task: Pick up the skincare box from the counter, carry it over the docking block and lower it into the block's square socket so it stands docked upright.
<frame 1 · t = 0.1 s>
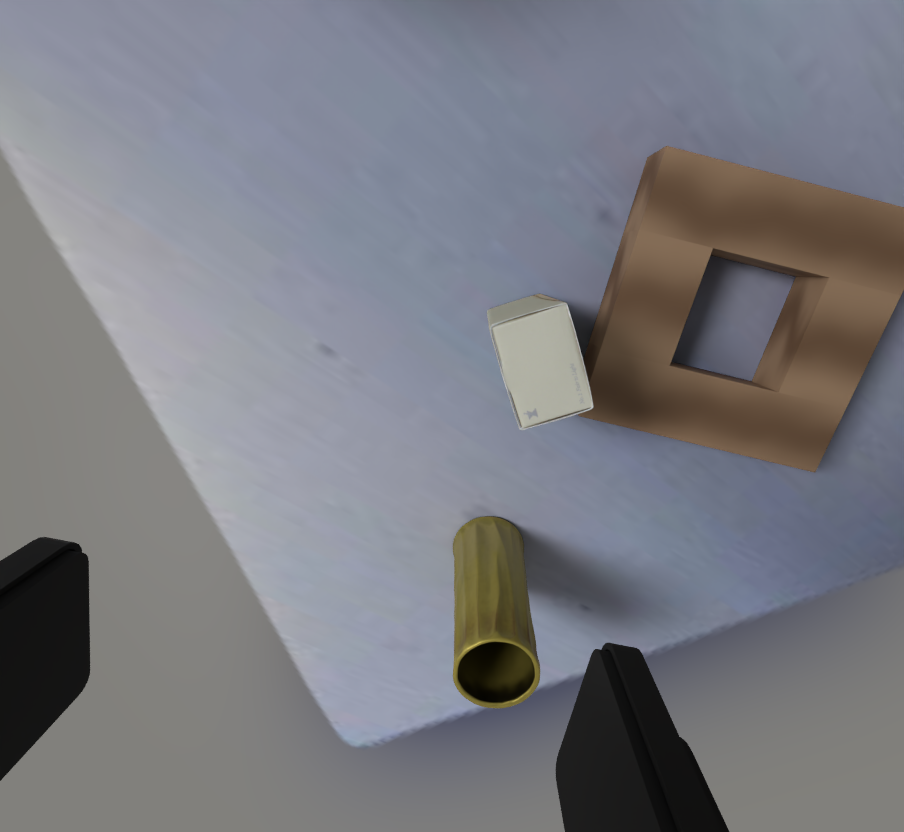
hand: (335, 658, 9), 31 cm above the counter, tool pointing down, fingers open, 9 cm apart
skincare box: (521, 338, 38), on the counter
vase: (488, 545, 44), on the counter
docking block: (722, 317, 37), on the counter
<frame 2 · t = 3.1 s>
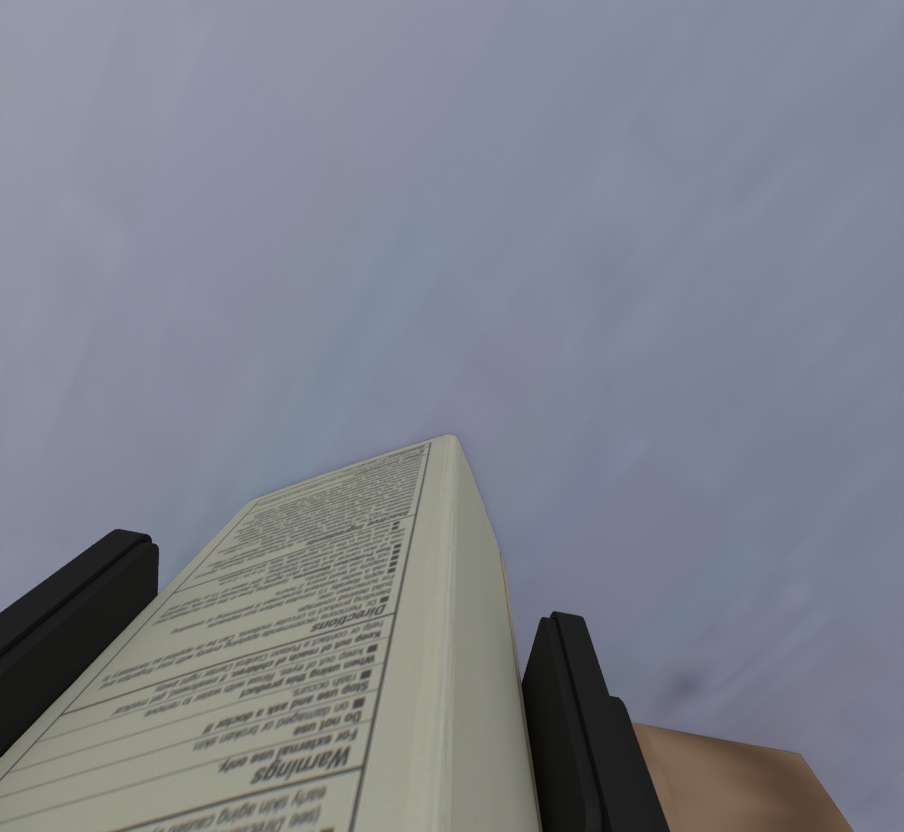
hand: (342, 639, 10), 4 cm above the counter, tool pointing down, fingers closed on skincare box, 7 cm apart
skincare box: (382, 524, 14), on the counter, touching gripper
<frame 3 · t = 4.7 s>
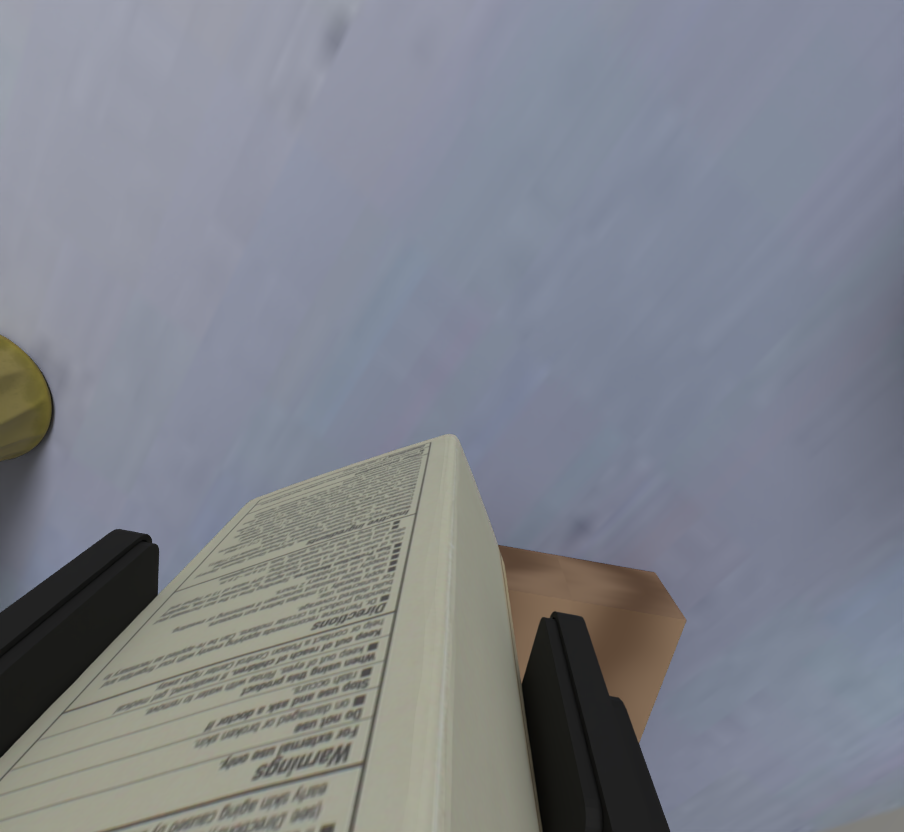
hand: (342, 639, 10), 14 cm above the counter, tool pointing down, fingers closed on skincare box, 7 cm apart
skincare box: (382, 523, 14), point 9 cm above the counter, touching gripper
docking block: (442, 688, 27), on the counter
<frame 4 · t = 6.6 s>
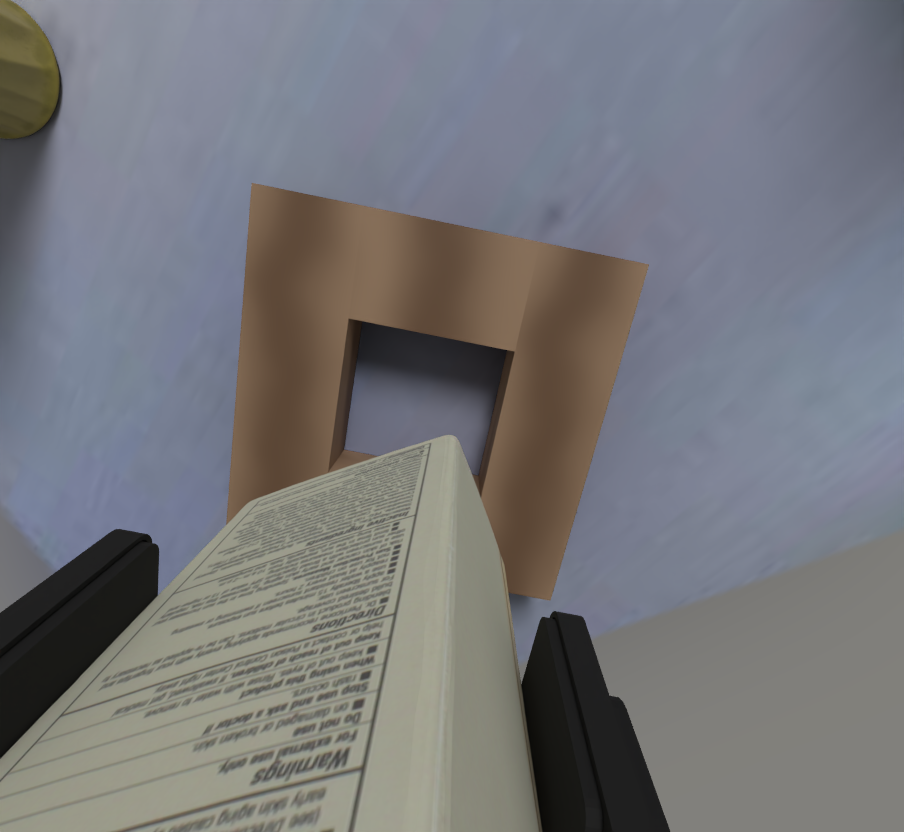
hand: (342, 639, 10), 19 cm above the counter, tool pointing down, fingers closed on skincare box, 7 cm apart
skincare box: (382, 524, 14), point 15 cm above the counter, touching gripper
vase: (3, 71, 24), on the counter
docking block: (423, 397, 28), on the counter
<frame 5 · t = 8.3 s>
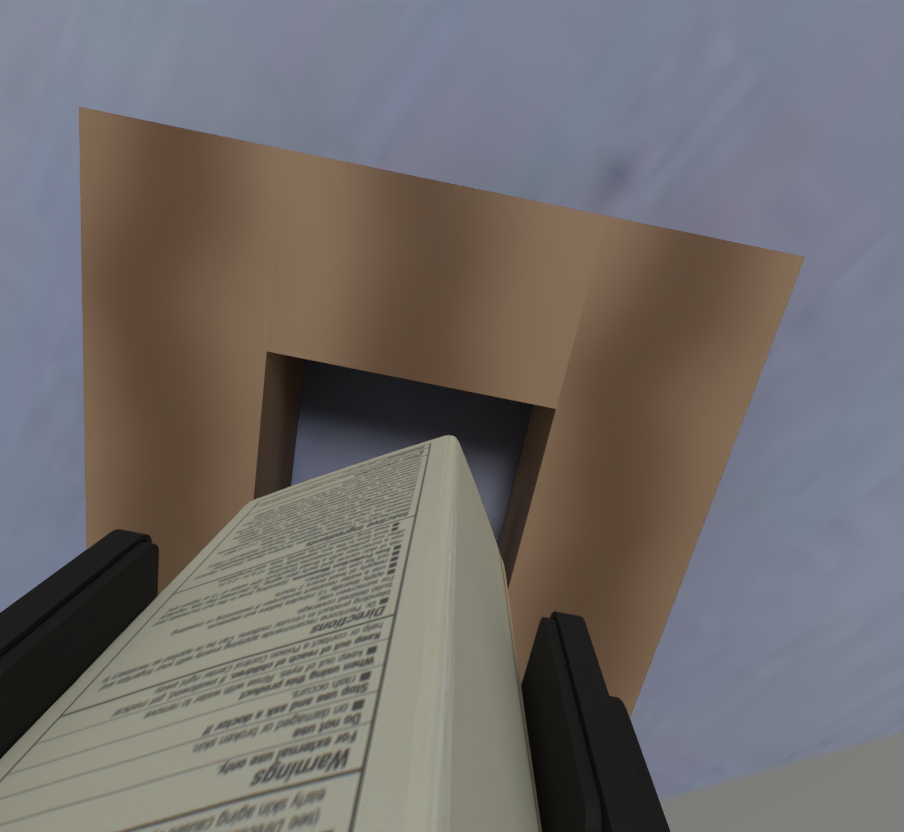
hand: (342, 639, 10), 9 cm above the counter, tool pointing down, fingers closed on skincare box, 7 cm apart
skincare box: (381, 524, 14), point 4 cm above the counter, touching gripper
docking block: (404, 465, 18), on the counter
when the fingers open (6 cm above the counter, at t = 10.0 s): skincare box drops 1 cm, resting in docking block.
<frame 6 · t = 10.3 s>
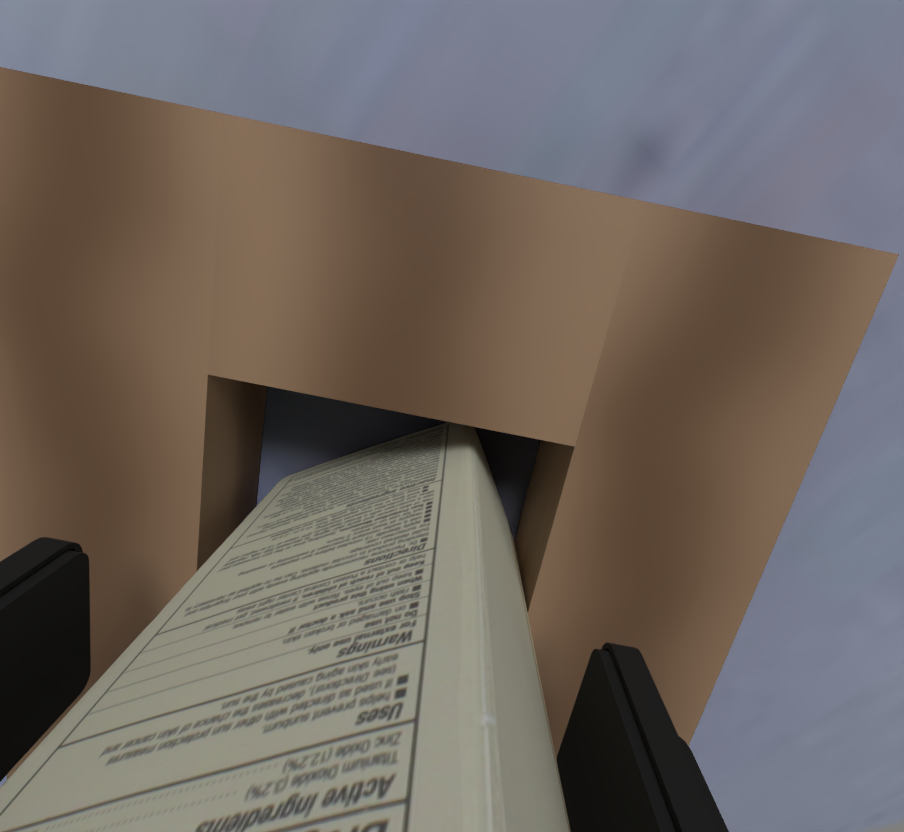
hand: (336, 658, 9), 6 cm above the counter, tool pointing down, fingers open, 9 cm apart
skincare box: (402, 500, 15), resting in docking block
docking block: (388, 503, 15), on the counter
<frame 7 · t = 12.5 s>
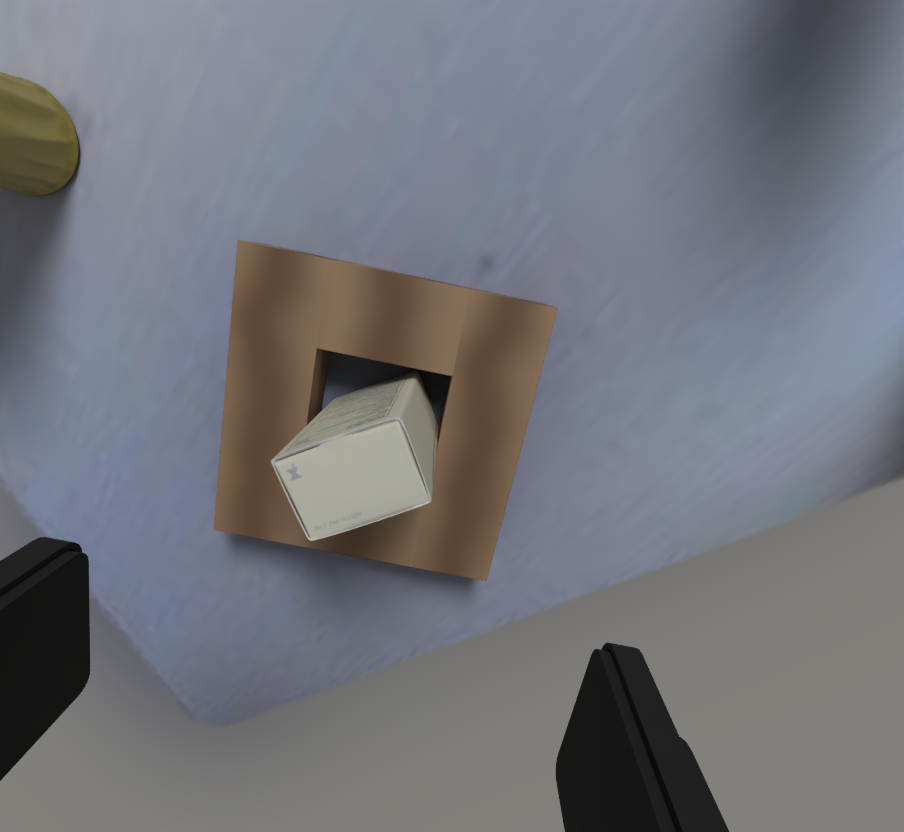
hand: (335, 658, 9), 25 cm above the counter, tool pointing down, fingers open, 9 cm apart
skincare box: (388, 410, 34), resting in docking block
vase: (31, 140, 29), on the counter
docking block: (382, 411, 34), on the counter
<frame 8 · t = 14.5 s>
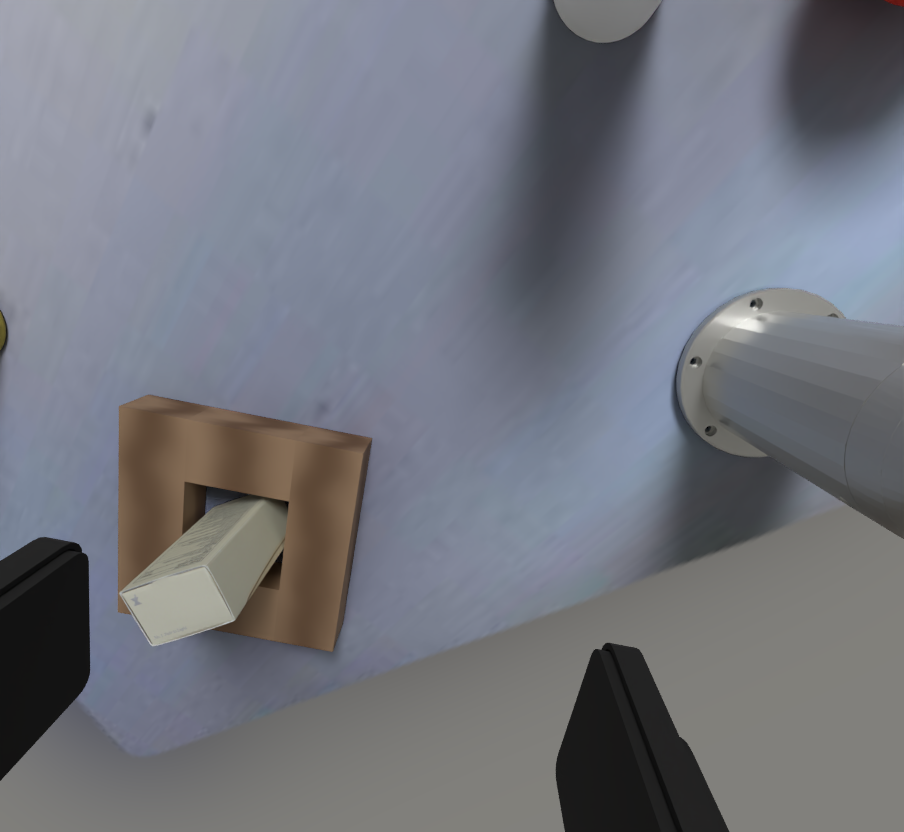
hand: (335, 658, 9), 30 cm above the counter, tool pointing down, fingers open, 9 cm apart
skincare box: (257, 515, 43), resting in docking block
docking block: (251, 516, 42), on the counter
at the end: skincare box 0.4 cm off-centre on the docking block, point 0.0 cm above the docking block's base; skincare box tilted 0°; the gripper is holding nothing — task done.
